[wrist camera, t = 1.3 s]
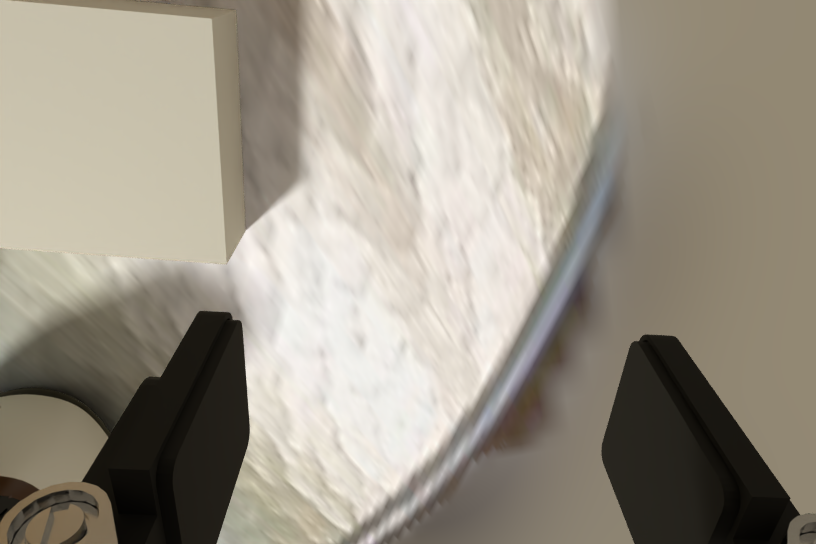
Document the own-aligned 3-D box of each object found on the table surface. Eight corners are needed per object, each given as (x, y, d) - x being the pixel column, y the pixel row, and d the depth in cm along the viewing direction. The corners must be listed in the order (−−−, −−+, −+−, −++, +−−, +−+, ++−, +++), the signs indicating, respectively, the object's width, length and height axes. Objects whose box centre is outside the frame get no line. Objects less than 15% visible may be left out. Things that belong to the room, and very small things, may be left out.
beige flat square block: (-8, -14, 25) (-75, -8, 21) (238, 9, 25) (211, 18, 22) (40, 212, 30) (-9, 247, 26) (247, 227, 30) (226, 264, 26)
